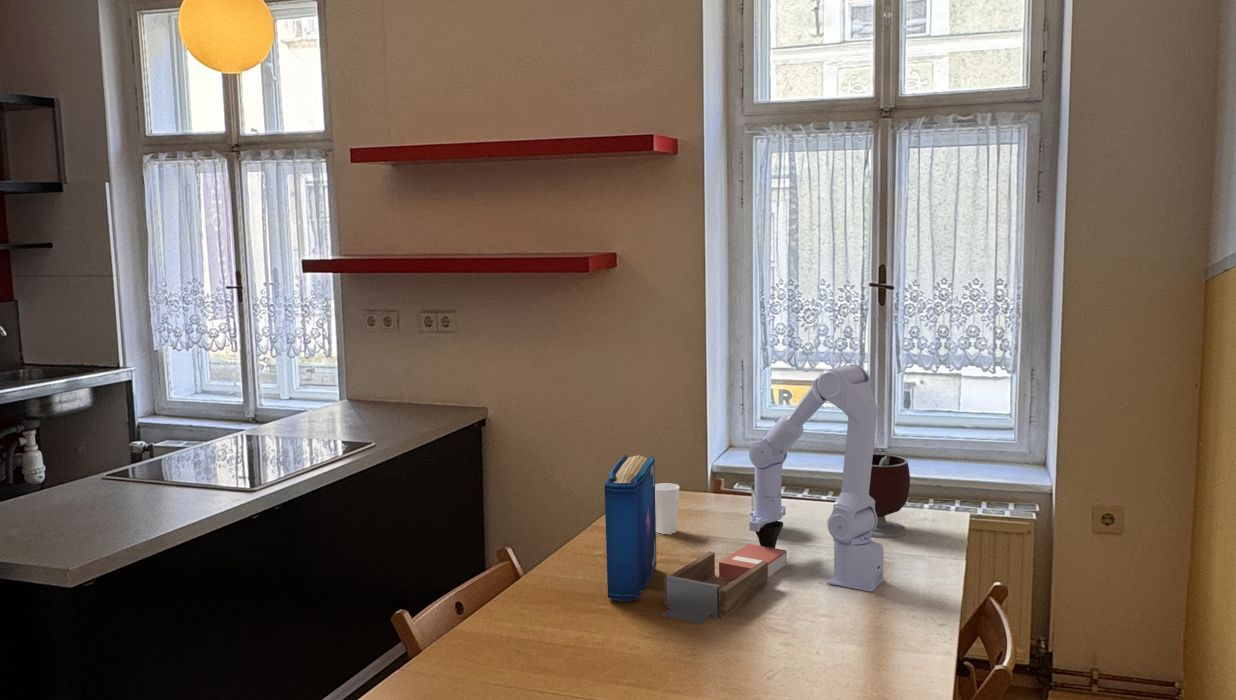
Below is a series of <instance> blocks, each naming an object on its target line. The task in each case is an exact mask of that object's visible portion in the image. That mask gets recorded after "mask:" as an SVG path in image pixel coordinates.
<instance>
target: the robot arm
mask: <svg viewBox="0 0 1236 700" xmlns="http://www.w3.org/2000/svg"><path fill="white" fill-rule="evenodd" d="M826 402H829V403H830V404H832V405H833V406H835V407H836V408H837V409H839V410H841V411H842V412H843V414H845V415H846V417H847V427H846V429H847V430H846V440H845V449H844V459H843V460H844V461H843V466H842V467H843V469H842V470H843V471H842V478H841V479H842V480H841V490H840V493H839V495H838V496H837V498H836V500H835V501H834V503H833V508H832V511H831V514H830V516H829V517H828V519H827V529H828V532H829V535H830V536H831V537H832V538H833V542H834V544H833V547H834V548H833V551H834V552H833V576H831V577H830V578H829V579H828V580H826V584H829V585H833V586H838V587H843V588H844V587H845V588H849V589H850V588H851V589H855V590H861V591H865V592H873V591H874V590H876V588H878V587H879V586H880V585H881V584H882V582H884V581H885V577H884V555H885V554H884V548H883V545H882V544H881V543H878V542H876V541H873V540H872V537H871V534H872V531H873V530H874V529H875V528H876V526H877V521H878V520H877V514H876V512H875V500H874V499H873V498H872V497H871V496H870V495H869V487H870V478H871V468H872V458H873V454H874V447H875V440H876V439H875V437H876V427H877V419H878V407H877V402H876V400H875V397H874V394H873V390H872V377H871V376H870V375H869V374H868V372H866V371H865V369H864V368H863V366H862V367H861V366H860V365H858V364H854V363H853V364H848V365H846V366H843V367H836V368H828V369H825V370H822V372H821V373H819V376H818V377H817V378H815V379H814V380H813V381H812V384H811V386H810V387H809V389H808V390H807V392H806V393H805V394H804V396H803V397H802V398H801V400H800V401H799V403H797V405H796V407H794V409H793V410H792V412H791V413H790V414H783V415H780V416H777V417H776V418H775V419H774V421H773V422H774V425H772V427H771V428H770V429H769V430H768V431H767V432H764V434H763V435H762V437H763V438H762V440H756V441H754V442H752V444H751V446H750V448H749V451H748V457H749V460H750V462H751V464H752V465H753V466H754V482H755V511H752V510H751V511H749V516H751V520H750V521H749V523H748V524H749V531H751V532H755V534H756V537H757V540H758V542H759V546H764V547H770V548H776V545H777V541H778V538H779V535H780V533H781V530H782V529H783V527H784V521H780V520H782V519H783V517H784V516H786V513H787V512H786V506H784V505H782V471H783V464H784V463H785V461H786V460H787V458H788V451H789V450H790V449H791V448H792V447H793V446H794V445H795V443H796V442H797V441H798V440H799V439H800V437H802V435H803V434H804V426H803V425H804V424H806V422H807V421H808V420H809V419H810V418H811V417H812V416H813V415H814V414H815V413H816V412H817V411H818V410H819V409H820V408H821V407H822V406H823V405H824V404H825V403H826ZM752 516H753V518H752Z"/></svg>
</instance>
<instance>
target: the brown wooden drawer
mask: <svg viewBox="0 0 1236 700" xmlns="http://www.w3.org/2000/svg"><path fill="white" fill-rule="evenodd" d="M715 555H716V552H714V551H708V552H706V553H704V554H703V555H702V556H700V557H698V558H696V559H695V560H693V561H691V562H690V563H688V564H687V565H685V566H683V567H682V568H680V569H678V570H677V571H675V572H674V573H673V572H672V574H670V576H675V577H680V578H685V579H690V580H695V581H700V582H705V581H706V582H708V581H709V580H710V579H712V578H713V577H715V576H716V567H715V566H716V563H715V562H716V559H715V558H716V556H715ZM708 579H709V580H708ZM706 582H705V583H706ZM768 586H769V578H768V562H766V561H761V562H760V563H759V564H757V565H756V566H754V567H753V568H751V569H750V570H748V571H747V572H746V573H744V574H743V575H741V576H740V577H738V578H737V579H735V580H732V581H731V582H730V583H729V584H727V585H725V586H724V587H722V588H721V589H720V616H719V617H723V618H727V617H728V616H729V615H731V614H732V613H733V612H735V611H736V610H737V609H739V608H741V607H742V606H743V605H745V604H746V603H747V602H748V601H750V600H751V599H752V598H753V597H755V596H756V595H757V594H759V593H760V592H761V591H763V590H765V588H767V587H768ZM663 588H664V589H663V590H664V591H663V594H664V595H663V596H664V598H663V599H664V600H663V601H664V605H666V604H667V577H665V578H664V579H663Z"/></svg>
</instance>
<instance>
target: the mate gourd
mask: <svg viewBox="0 0 1236 700" xmlns="http://www.w3.org/2000/svg"><path fill="white" fill-rule="evenodd" d="M910 487H911V473H910V467H909V460H908V458H906V457H903V456H900V455H895V454H888V453H887V454H886V453H873V458H872V468H871V478H870V487H869V495H870V496H871V497H872V498H873V499H874V500H875V512H876V514H877V520H878V521H877V526H876V528H875V529H874V530H873V531H872V534H871V538H879V539H888V538H889V539H890V538H896V537H901V536H903V535H905V534H906V527H905V526H904V525H902V524H901V523H898V522H896V521H890V520H887V519H886V516H888V515H891V514H894V513H897V512H899V511H901V510H902V508H903V507H904V506H905V505H906V503H907V501H908V498H909V492H910Z"/></svg>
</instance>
